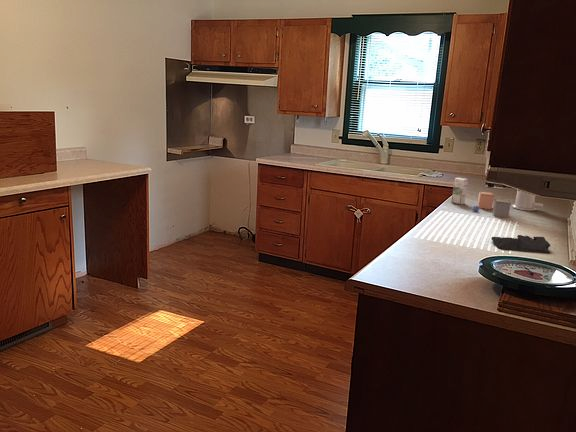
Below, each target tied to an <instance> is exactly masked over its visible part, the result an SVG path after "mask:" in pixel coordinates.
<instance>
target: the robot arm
mask: <svg viewBox="0 0 576 432" xmlns="http://www.w3.org/2000/svg"><path fill="white" fill-rule="evenodd" d="M488 140H489V133H488V134H487V139H486V147H487V146H488ZM485 150H486V151H485V158H486V163H485V171H484V174H485V175H486V173H487V169H488V163H489V152H488V151H487V148H486V149H485ZM485 185H487V188H494V187H495V183H494V184H491V183H487V182H486V181H485ZM535 199H536V195H532V194H528V193H525V192H522V191H518V189H517V192H516V196H515V202H514V203H513V204H511V208H513V209H517V210H520V211H529V212H530V211H531V212H532V211H536V210H537V207H538V208H544V204H543V203H539V202H536V201H535Z"/></svg>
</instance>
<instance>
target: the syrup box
mask: <svg viewBox="0 0 576 432" xmlns="http://www.w3.org/2000/svg"><path fill="white" fill-rule="evenodd" d="M468 182H469V179H468V178H464V177H455V178H454V183H453V187H452V189H453V190H452V194H451V204H456V205H463V204H465V203H466V196H467V195H466V194H467V190H468V189H467V188H468Z"/></svg>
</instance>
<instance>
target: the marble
mask: <svg viewBox="0 0 576 432" xmlns="http://www.w3.org/2000/svg"><path fill="white" fill-rule="evenodd" d="M479 210H480V208H479V207H478V206H477V204H476V205H473V206H472V211H473V212H478V211H479Z"/></svg>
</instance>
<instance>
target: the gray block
mask: <svg viewBox="0 0 576 432" xmlns="http://www.w3.org/2000/svg"><path fill="white" fill-rule="evenodd" d="M511 206H512V204H511V201H510V200H509V199H500V198H494V199H493V205H492V216H493V217H498V218H503V219H504V218H507V219H509V215H510V209H511Z"/></svg>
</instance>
